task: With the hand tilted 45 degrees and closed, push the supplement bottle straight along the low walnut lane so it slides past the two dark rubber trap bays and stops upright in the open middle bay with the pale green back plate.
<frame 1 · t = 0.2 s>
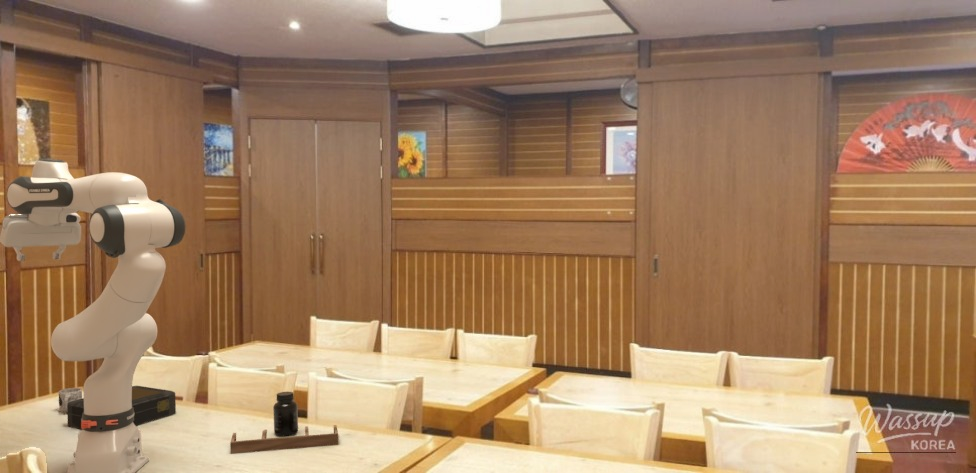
hand: (38, 259, 210), 52 cm above the table, tool tilted 20°, fingers open, 8 cm apart
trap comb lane: (285, 438, 211), on the table
supplement bottle: (286, 434, 216), on the table
cash box: (122, 421, 232), on the table
mug: (69, 412, 241), on the table
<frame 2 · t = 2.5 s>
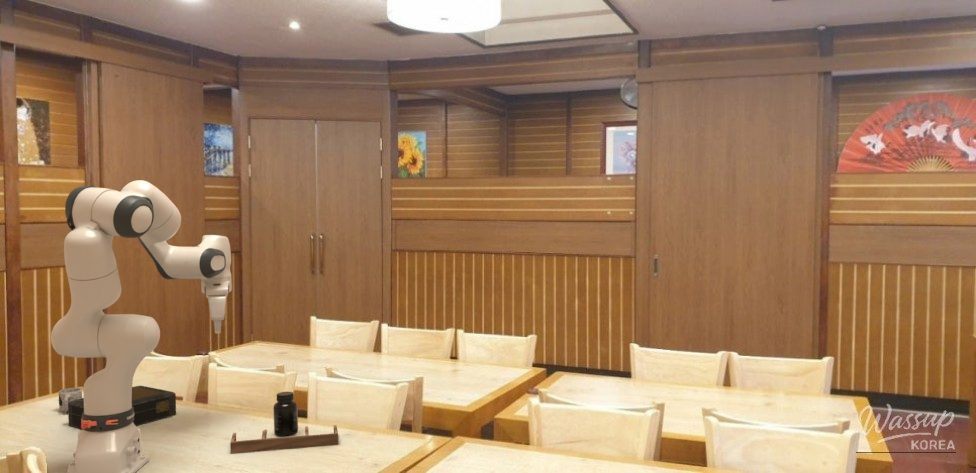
hand: (217, 330, 228), 28 cm above the table, tool pointing down, fingers open, 8 cm apart
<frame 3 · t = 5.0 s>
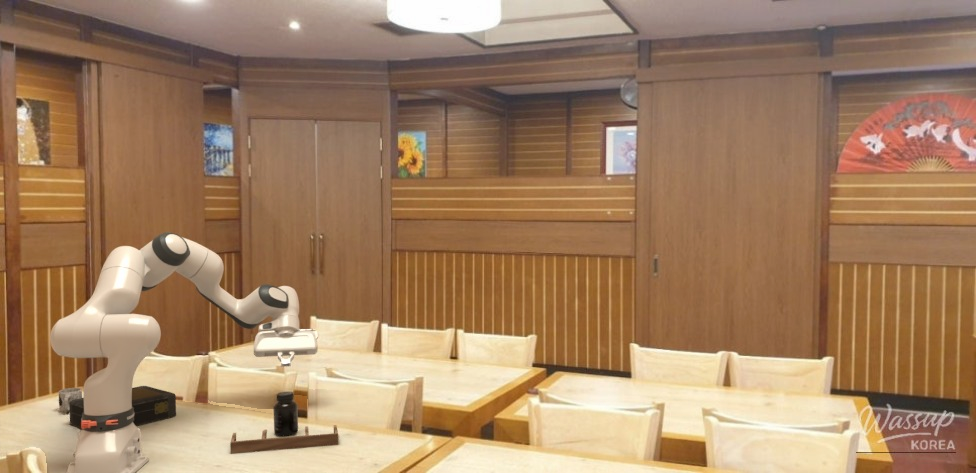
hand: (285, 365, 237), 16 cm above the table, tool tilted 45°, fingers closed
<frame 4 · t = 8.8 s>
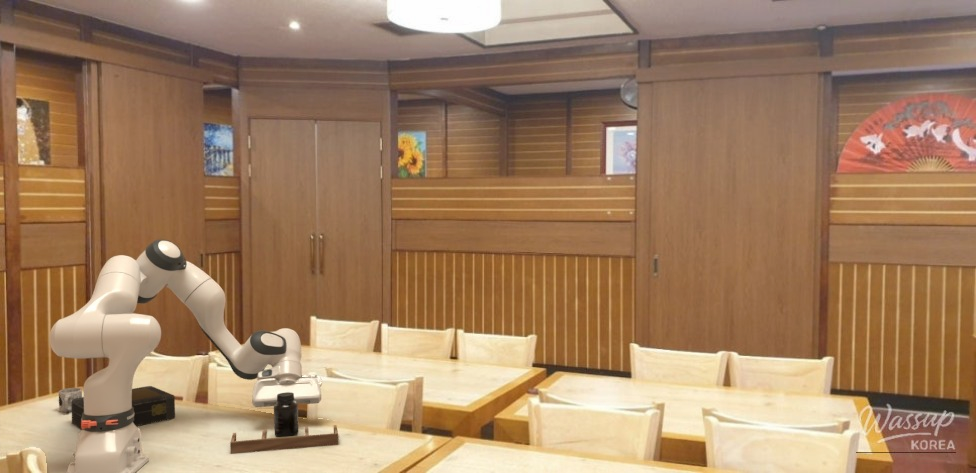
hand: (287, 416, 218), 4 cm above the table, tool tilted 45°, fingers closed
supplement bottle: (286, 435, 215), on the table, touching gripper
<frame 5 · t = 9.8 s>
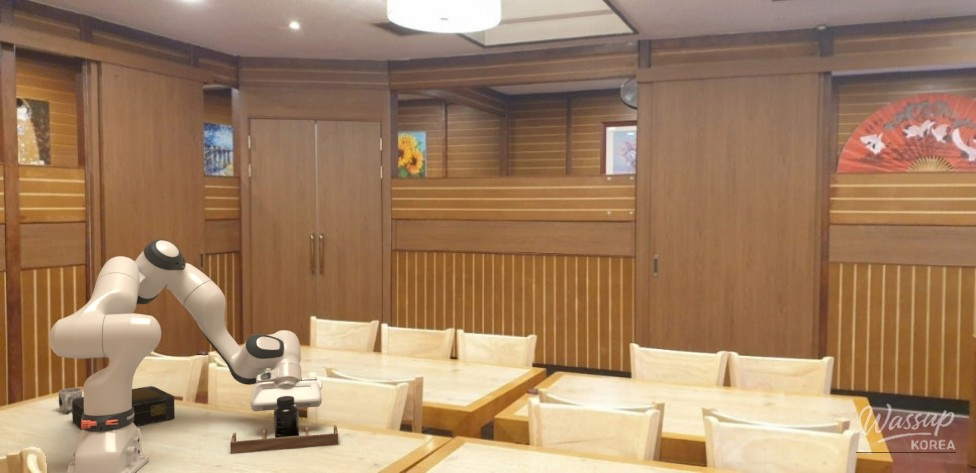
hand: (286, 420, 213), 5 cm above the table, tool tilted 45°, fingers closed, pressing on supplement bottle
supplement bottle: (287, 439, 211), on the table, touching gripper
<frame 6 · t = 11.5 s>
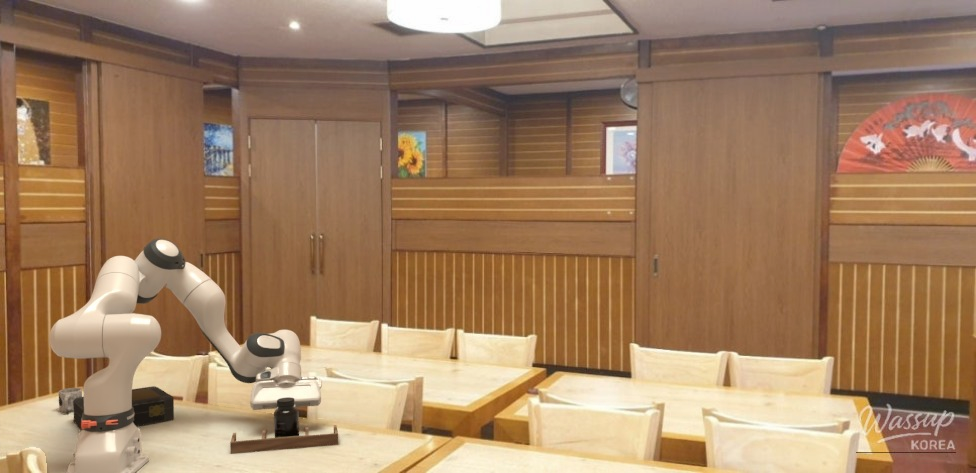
hand: (286, 419, 214), 5 cm above the table, tool tilted 45°, fingers closed
supplement bottle: (286, 441, 209), on the table
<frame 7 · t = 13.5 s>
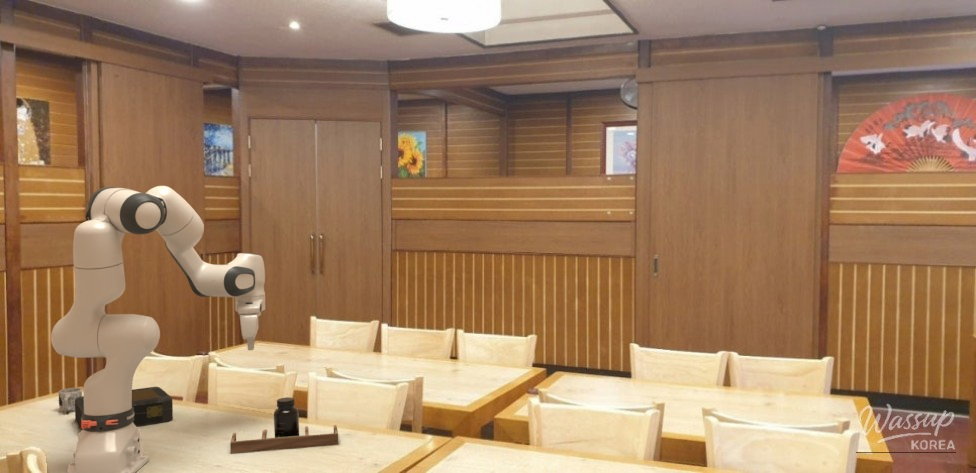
hand: (250, 349, 227), 23 cm above the table, tool pointing down, fingers closed
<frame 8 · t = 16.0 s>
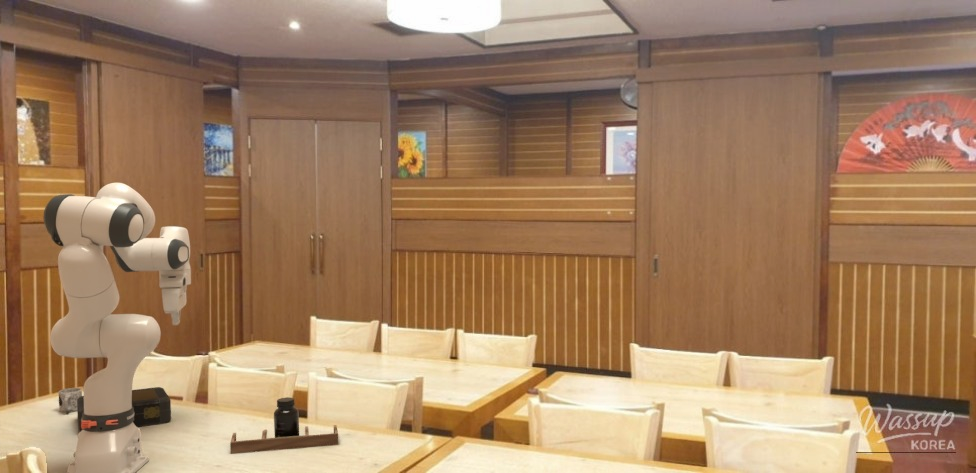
hand: (176, 324, 223), 31 cm above the table, tool pointing down, fingers closed
at the end: supplement bottle inside the target area (2.2 cm from its centre), on the table; supplement bottle tilted 0° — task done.
